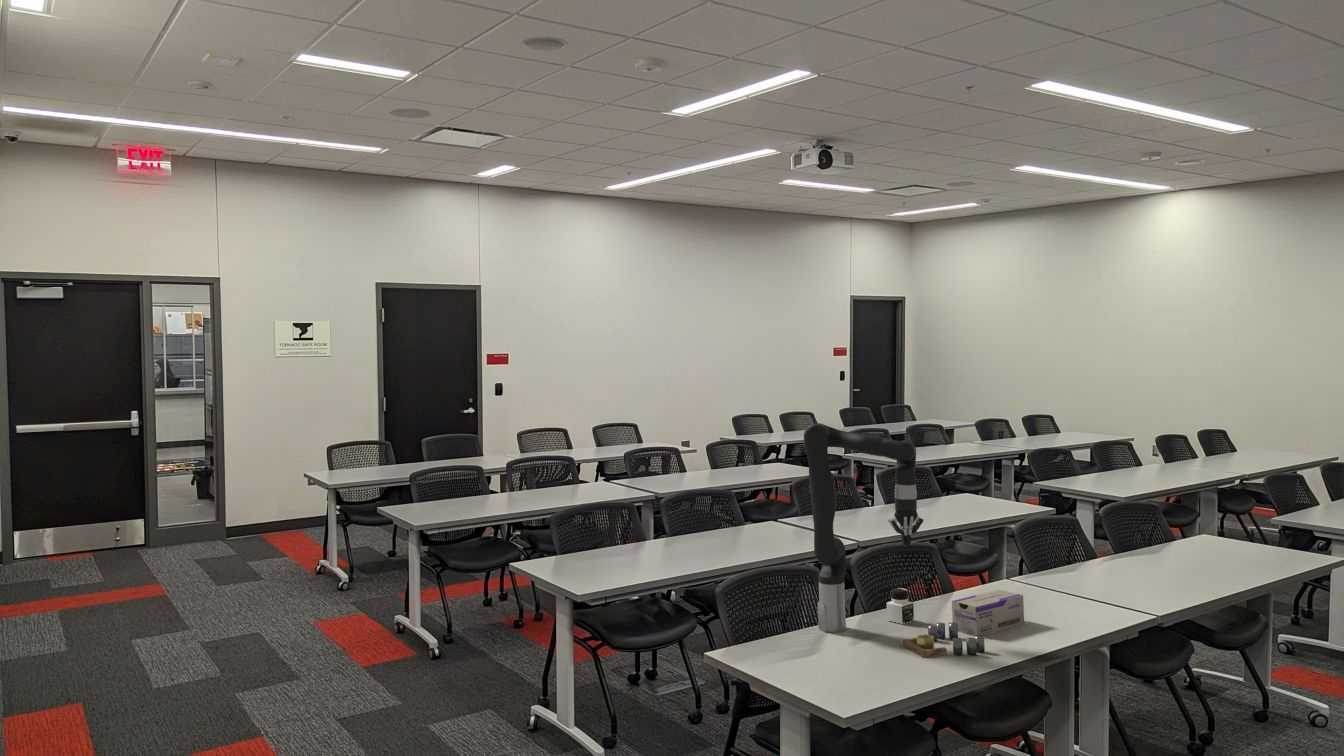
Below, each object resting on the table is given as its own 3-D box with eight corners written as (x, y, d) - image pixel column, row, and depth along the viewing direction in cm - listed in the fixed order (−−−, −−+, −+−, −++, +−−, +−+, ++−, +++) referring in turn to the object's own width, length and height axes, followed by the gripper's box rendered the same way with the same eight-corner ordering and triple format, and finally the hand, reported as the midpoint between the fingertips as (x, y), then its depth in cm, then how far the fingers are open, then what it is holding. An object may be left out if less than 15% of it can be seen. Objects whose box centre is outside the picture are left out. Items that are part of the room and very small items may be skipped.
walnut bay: (923, 657, 287) (923, 651, 287) (902, 645, 301) (902, 639, 301) (946, 654, 289) (946, 648, 289) (925, 642, 303) (924, 636, 303)
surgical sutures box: (999, 618, 328) (998, 589, 328) (1024, 624, 319) (1023, 595, 319) (953, 630, 316) (951, 600, 316) (977, 637, 306) (975, 606, 306)
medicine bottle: (902, 625, 324) (901, 592, 324) (886, 621, 329) (885, 589, 329) (914, 621, 328) (913, 589, 328) (898, 617, 334) (897, 585, 334)
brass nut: (920, 653, 291) (920, 640, 291) (913, 648, 297) (913, 635, 297) (937, 652, 292) (937, 638, 292) (930, 647, 297) (930, 634, 297)
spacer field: (959, 657, 286) (958, 642, 286) (924, 638, 307) (923, 624, 307) (989, 653, 288) (988, 638, 288) (952, 635, 309) (952, 620, 309)
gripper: (893, 499, 308) (894, 548, 309) (928, 497, 311) (928, 546, 311) (883, 496, 316) (884, 544, 316) (917, 494, 318) (918, 542, 319)
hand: (906, 545), depth 314 cm, fingers closed
